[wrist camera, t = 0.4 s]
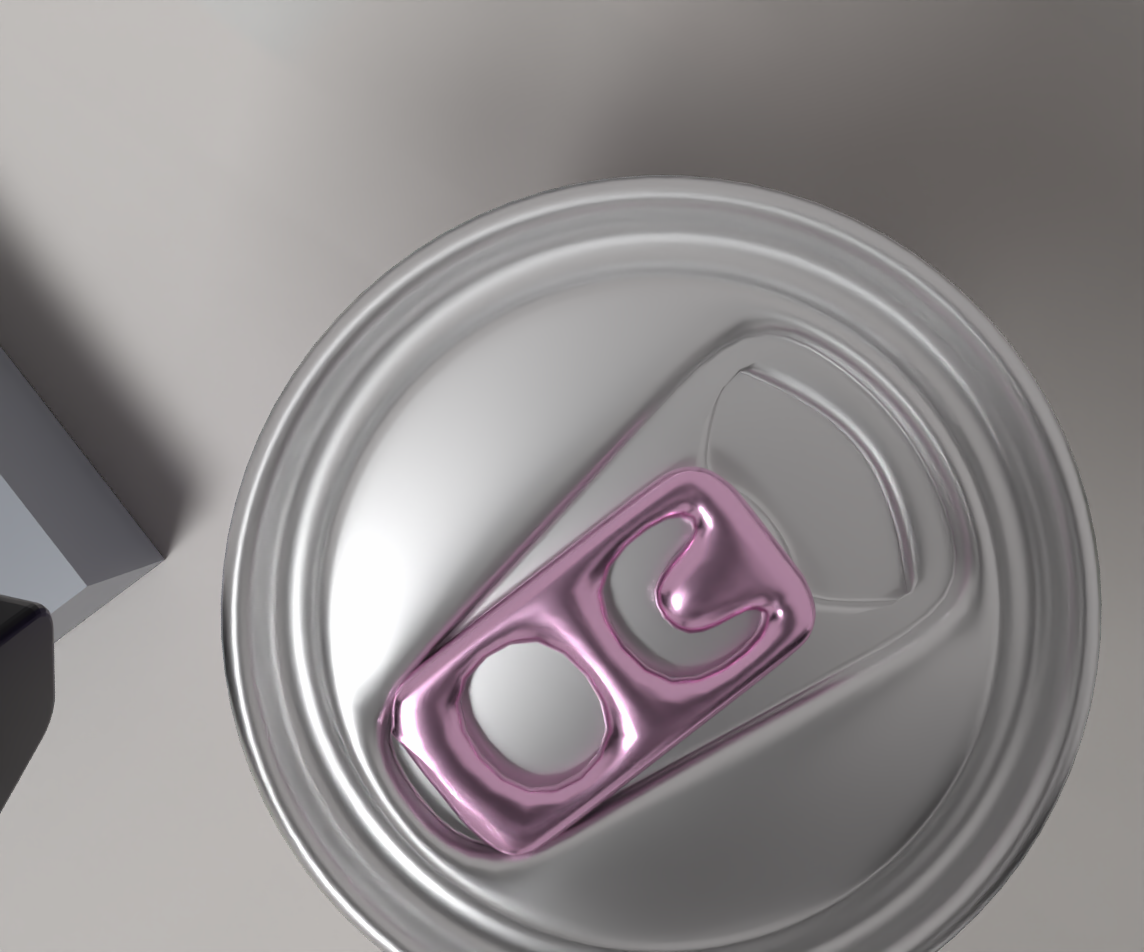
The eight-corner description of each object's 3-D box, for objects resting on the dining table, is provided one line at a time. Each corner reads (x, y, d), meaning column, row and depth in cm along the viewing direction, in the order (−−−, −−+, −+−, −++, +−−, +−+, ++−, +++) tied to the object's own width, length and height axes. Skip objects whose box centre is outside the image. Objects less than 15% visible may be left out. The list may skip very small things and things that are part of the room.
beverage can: (390, 458, 22) (-12, 543, 7) (621, 275, 21) (749, -64, 6) (571, 685, 22) (582, 1267, 7) (801, 507, 22) (1327, 701, 7)
